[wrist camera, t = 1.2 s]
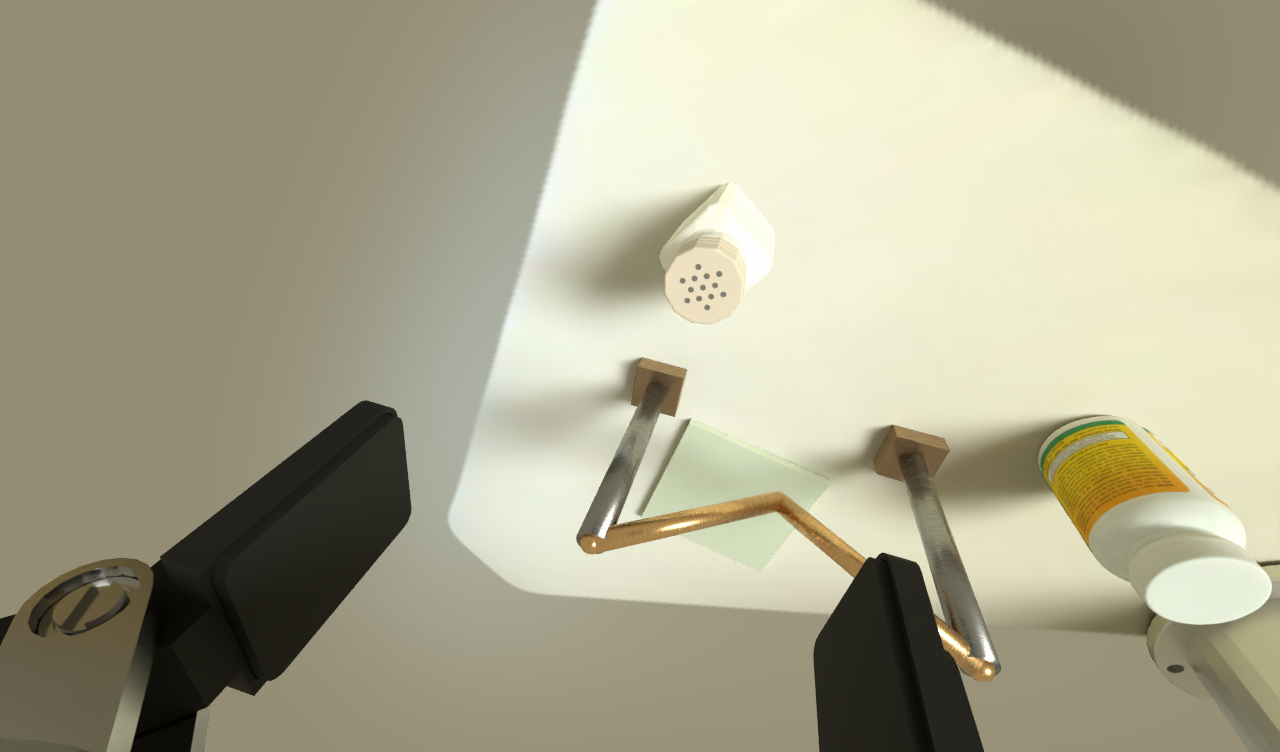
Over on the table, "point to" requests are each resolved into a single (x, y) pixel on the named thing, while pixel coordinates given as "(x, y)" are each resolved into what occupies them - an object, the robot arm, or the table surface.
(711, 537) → the mat
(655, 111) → the table surface
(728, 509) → the wire hurdle
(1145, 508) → the supplement bottle
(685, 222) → the salt shaker
